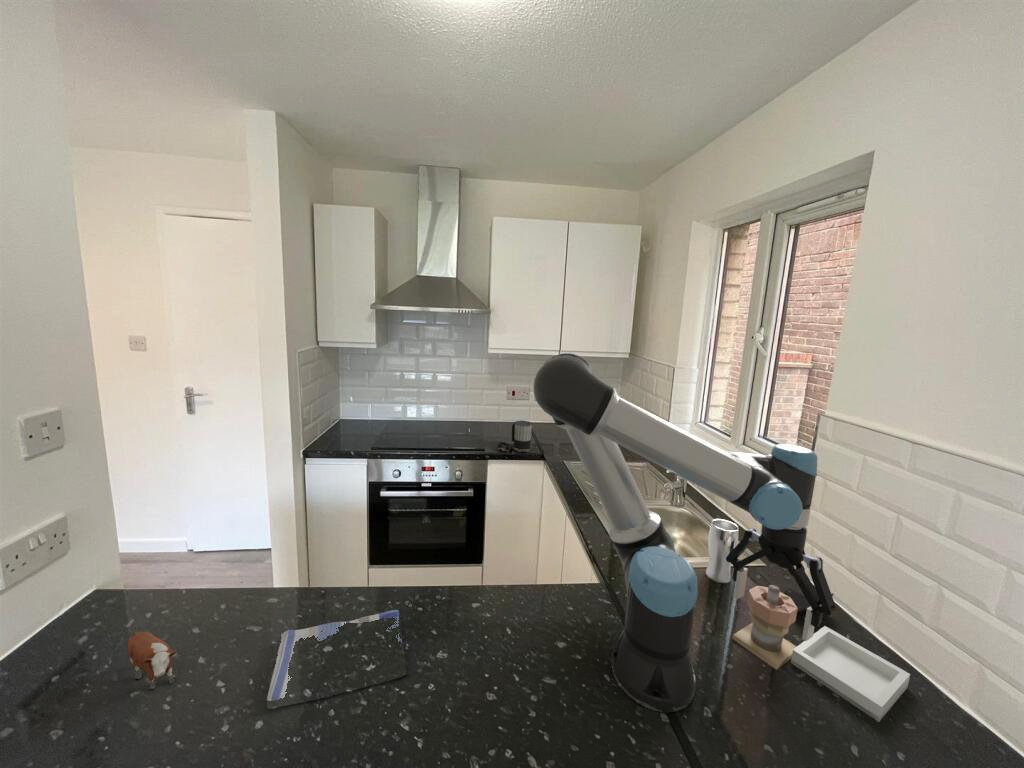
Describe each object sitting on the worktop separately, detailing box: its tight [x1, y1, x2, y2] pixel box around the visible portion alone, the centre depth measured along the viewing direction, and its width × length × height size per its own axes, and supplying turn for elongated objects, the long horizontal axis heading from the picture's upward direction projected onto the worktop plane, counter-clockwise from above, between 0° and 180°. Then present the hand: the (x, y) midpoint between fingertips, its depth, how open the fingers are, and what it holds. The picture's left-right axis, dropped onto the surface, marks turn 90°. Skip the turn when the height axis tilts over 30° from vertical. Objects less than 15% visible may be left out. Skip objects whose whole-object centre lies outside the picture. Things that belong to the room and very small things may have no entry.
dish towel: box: [266, 609, 402, 701], centre depth 78 cm, size 17×24×3 cm
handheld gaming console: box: [782, 588, 834, 617], centre depth 98 cm, size 12×7×10 cm
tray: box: [790, 625, 911, 723], centre depth 80 cm, size 14×14×3 cm
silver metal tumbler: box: [705, 518, 740, 584], centre depth 109 cm, size 7×7×15 cm
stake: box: [732, 584, 798, 670], centre depth 85 cm, size 9×9×14 cm
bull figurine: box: [126, 631, 179, 683], centre depth 71 cm, size 4×13×8 cm, turn 58°
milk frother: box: [497, 420, 533, 449], centre depth 208 cm, size 14×16×15 cm
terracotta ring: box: [746, 585, 798, 627], centre depth 85 cm, size 8×8×3 cm
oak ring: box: [749, 611, 790, 637], centre depth 85 cm, size 6×6×3 cm
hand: (770, 615), depth 85 cm, fingers open, 13 cm apart
